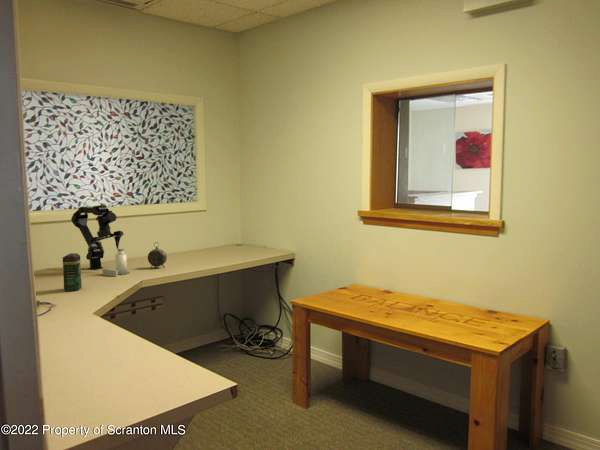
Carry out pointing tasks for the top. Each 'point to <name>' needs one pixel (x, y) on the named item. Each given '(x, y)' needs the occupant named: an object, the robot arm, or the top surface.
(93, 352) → the top surface
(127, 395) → the top surface
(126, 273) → the mat
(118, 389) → the top surface
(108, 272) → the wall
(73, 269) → the coffee jar
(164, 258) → the alarm clock
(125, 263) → the bottle
